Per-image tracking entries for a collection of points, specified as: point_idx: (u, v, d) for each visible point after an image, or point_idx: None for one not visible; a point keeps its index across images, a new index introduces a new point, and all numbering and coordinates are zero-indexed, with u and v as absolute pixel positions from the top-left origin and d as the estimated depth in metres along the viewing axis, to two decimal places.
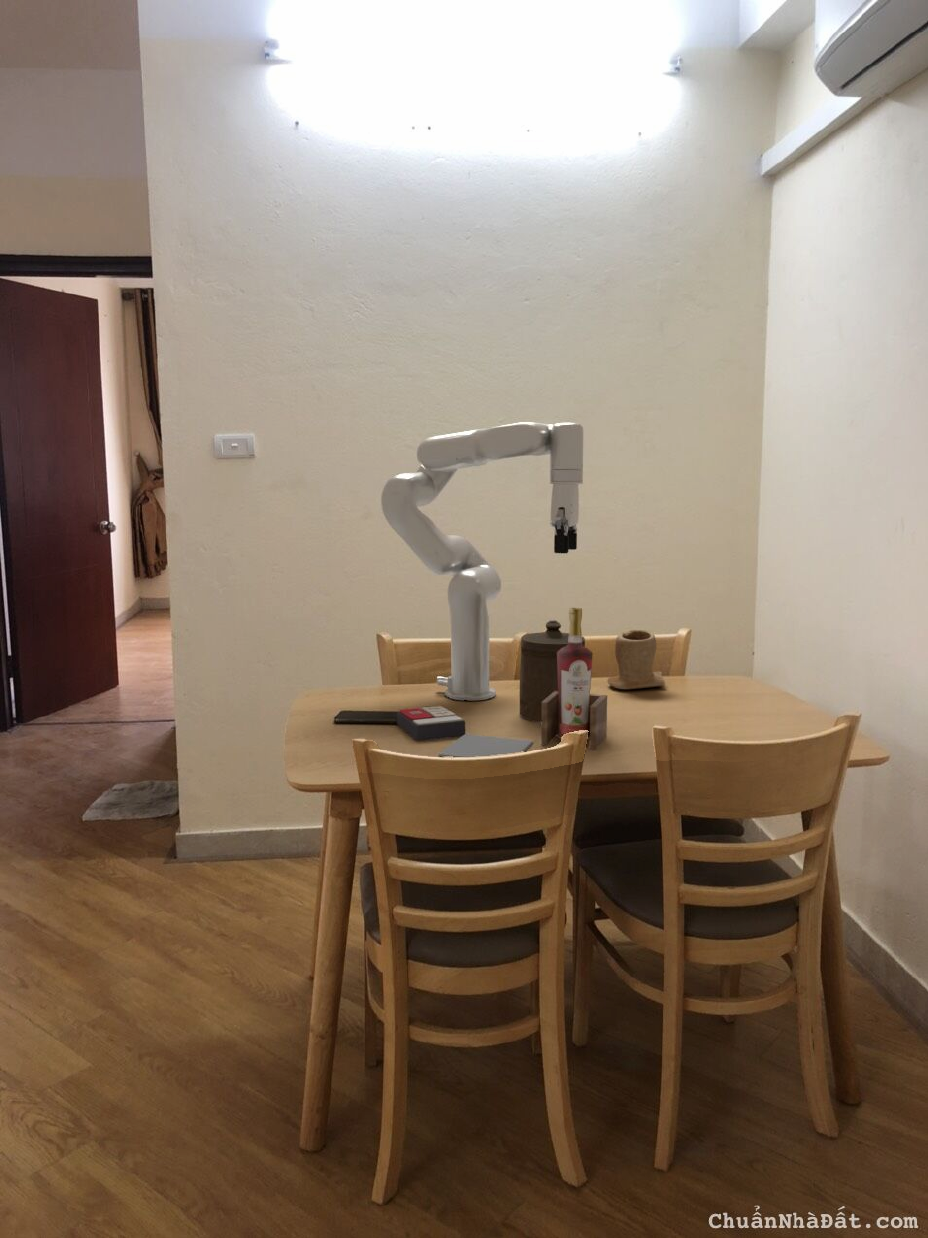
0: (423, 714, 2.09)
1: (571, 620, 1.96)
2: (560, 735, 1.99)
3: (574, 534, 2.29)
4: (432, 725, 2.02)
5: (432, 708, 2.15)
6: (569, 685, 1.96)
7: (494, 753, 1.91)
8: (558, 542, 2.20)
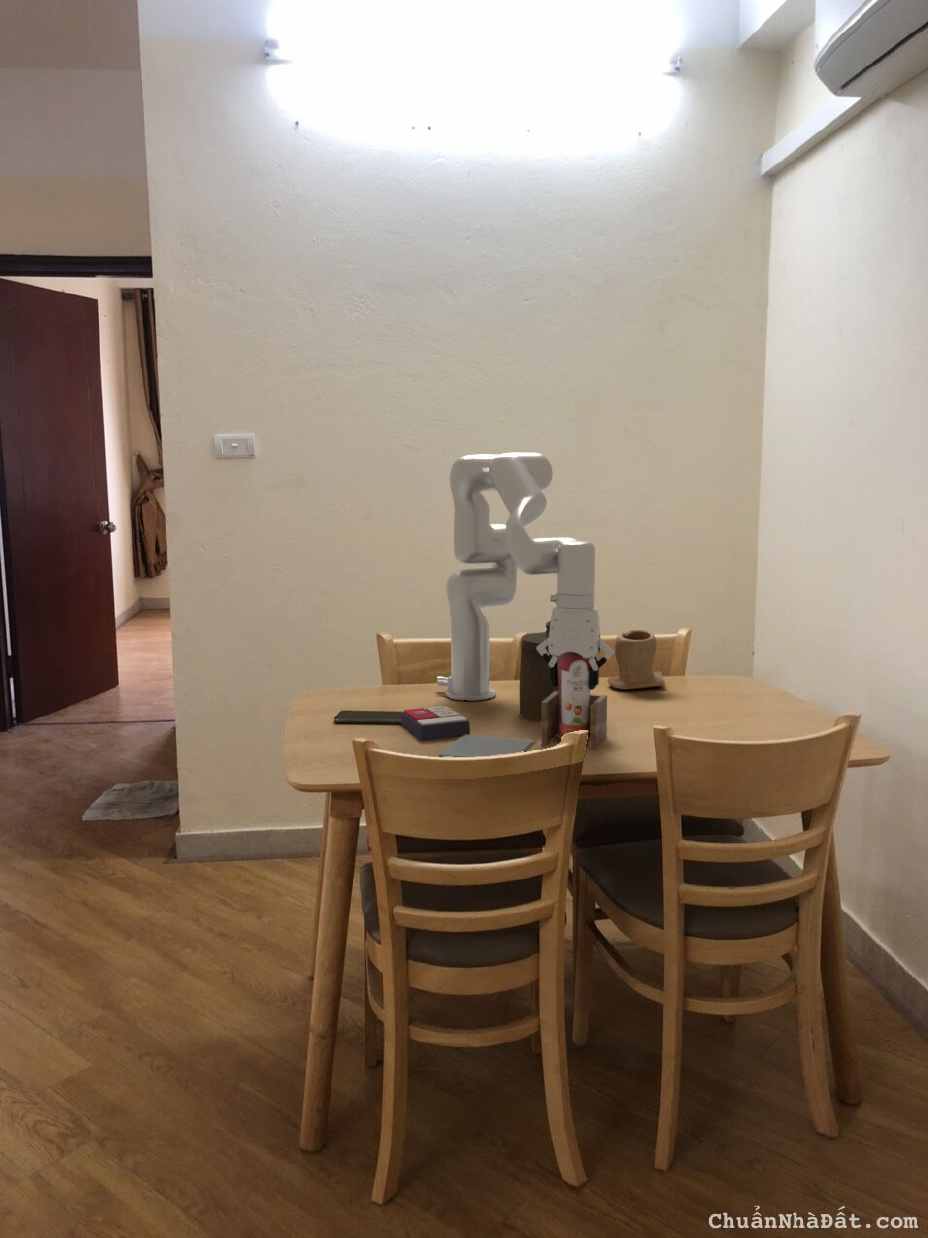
0: (427, 714, 2.09)
1: None
2: (560, 735, 1.99)
3: None
4: (436, 725, 2.02)
5: (436, 708, 2.15)
6: (569, 685, 1.96)
7: (494, 753, 1.91)
8: (597, 676, 1.96)
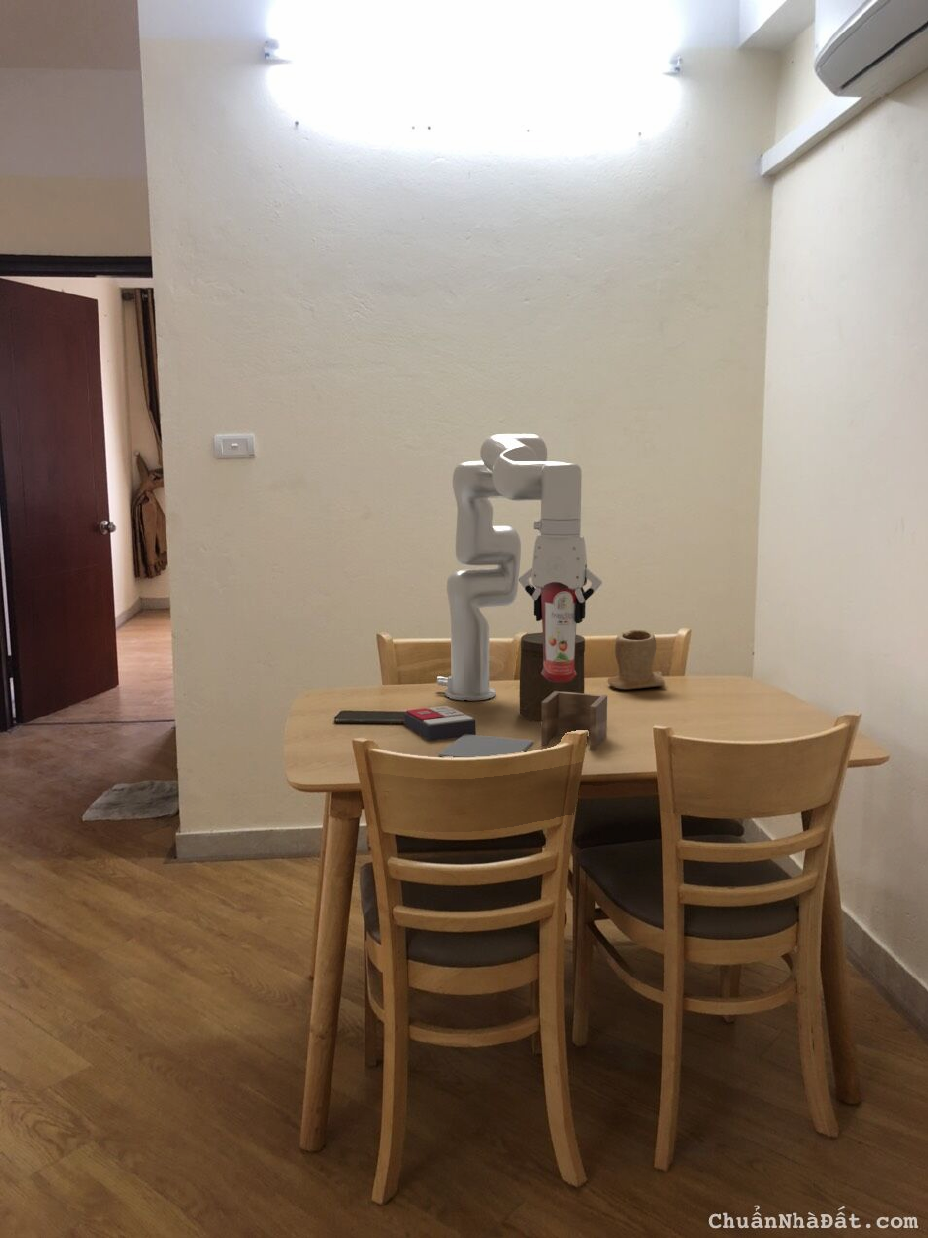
0: (432, 714, 2.09)
1: None
2: (544, 673, 1.86)
3: None
4: (443, 725, 2.02)
5: (439, 708, 2.15)
6: (553, 618, 1.82)
7: (494, 753, 1.91)
8: (583, 609, 1.83)
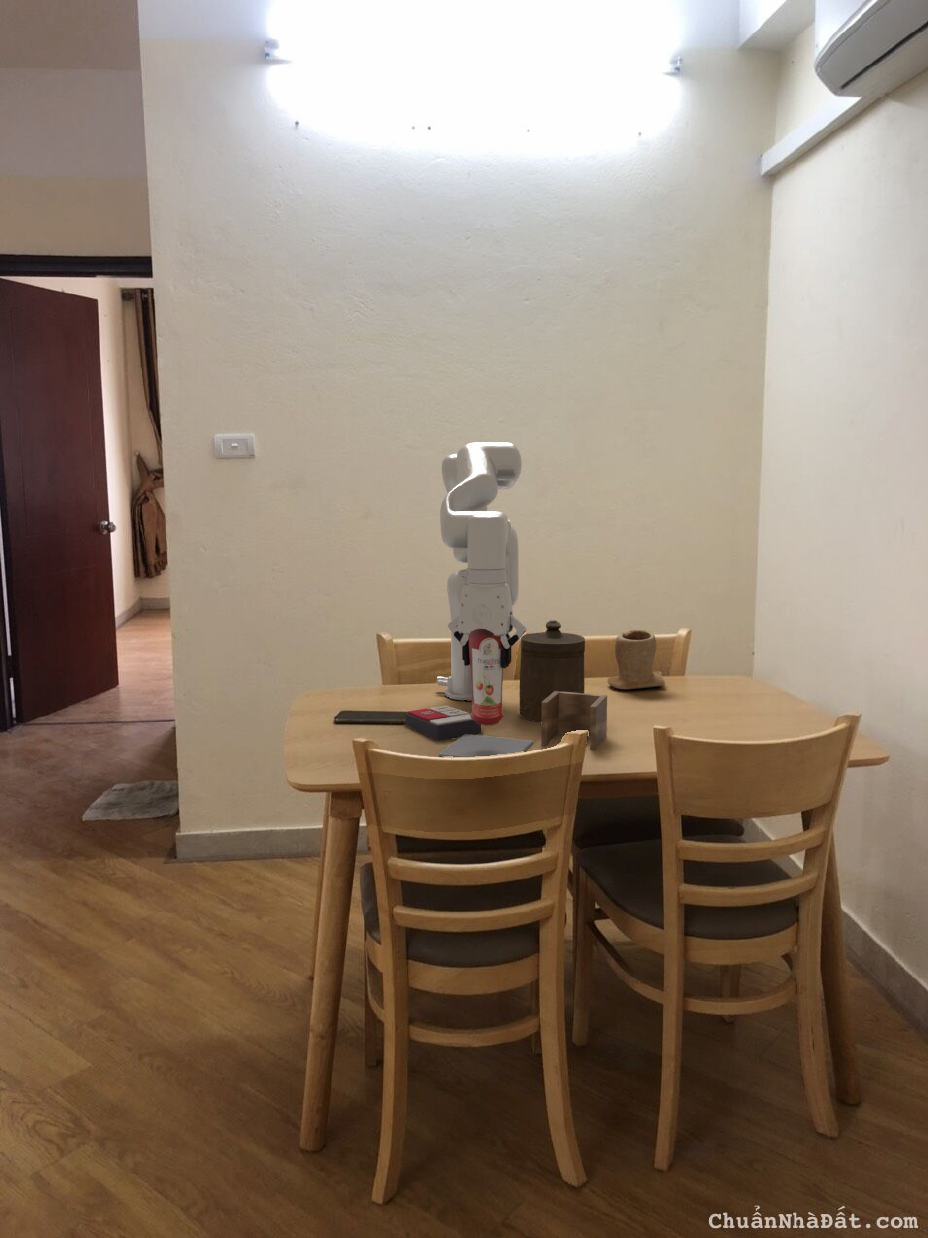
0: (436, 714, 2.09)
1: None
2: (472, 716, 1.92)
3: None
4: (451, 724, 2.03)
5: (440, 708, 2.15)
6: (480, 663, 1.89)
7: (494, 753, 1.91)
8: (509, 655, 1.90)
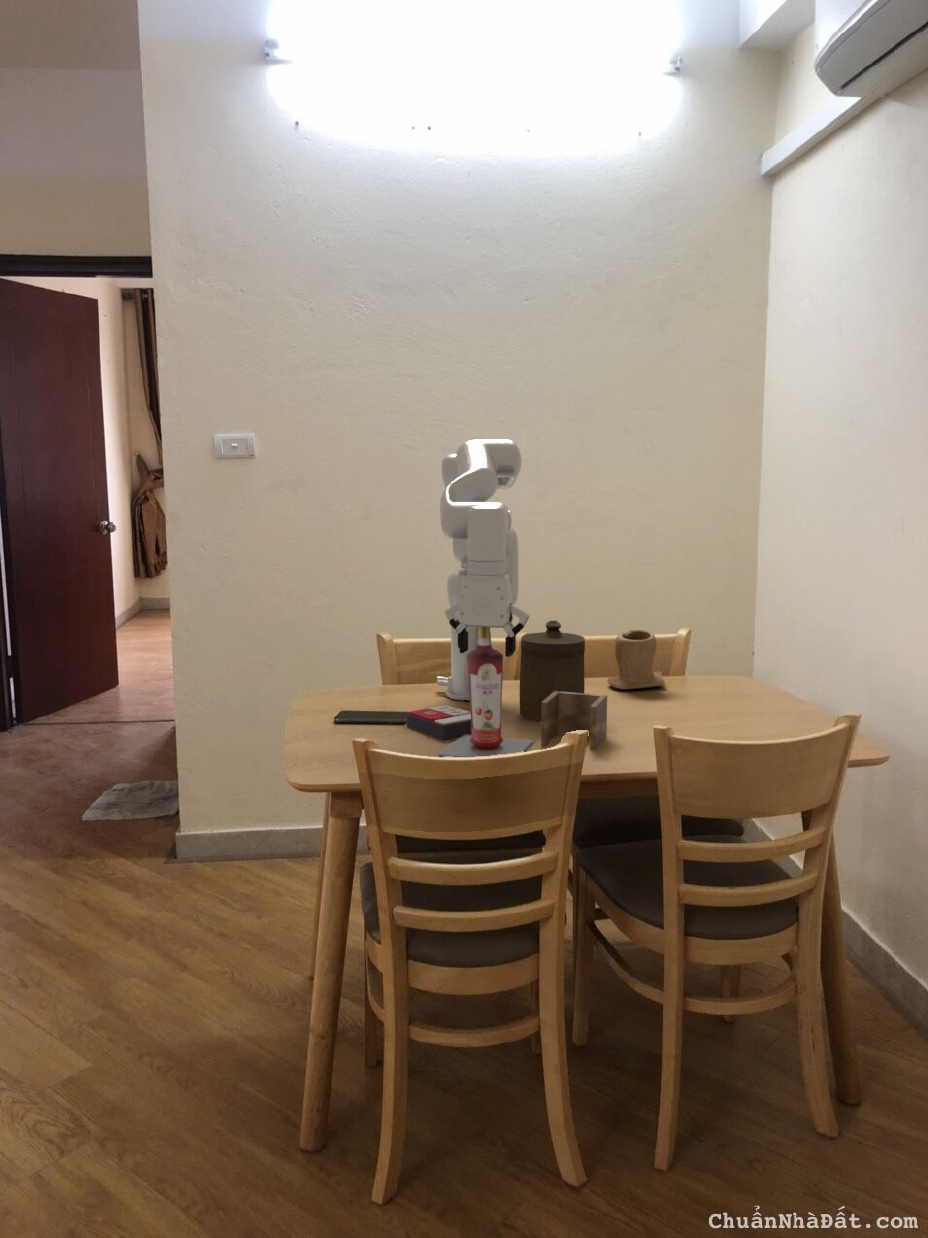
0: (439, 714, 2.09)
1: None
2: (472, 740, 1.94)
3: (467, 633, 1.94)
4: (456, 724, 2.03)
5: (441, 708, 2.15)
6: (478, 689, 1.90)
7: (494, 753, 1.91)
8: (513, 643, 1.89)
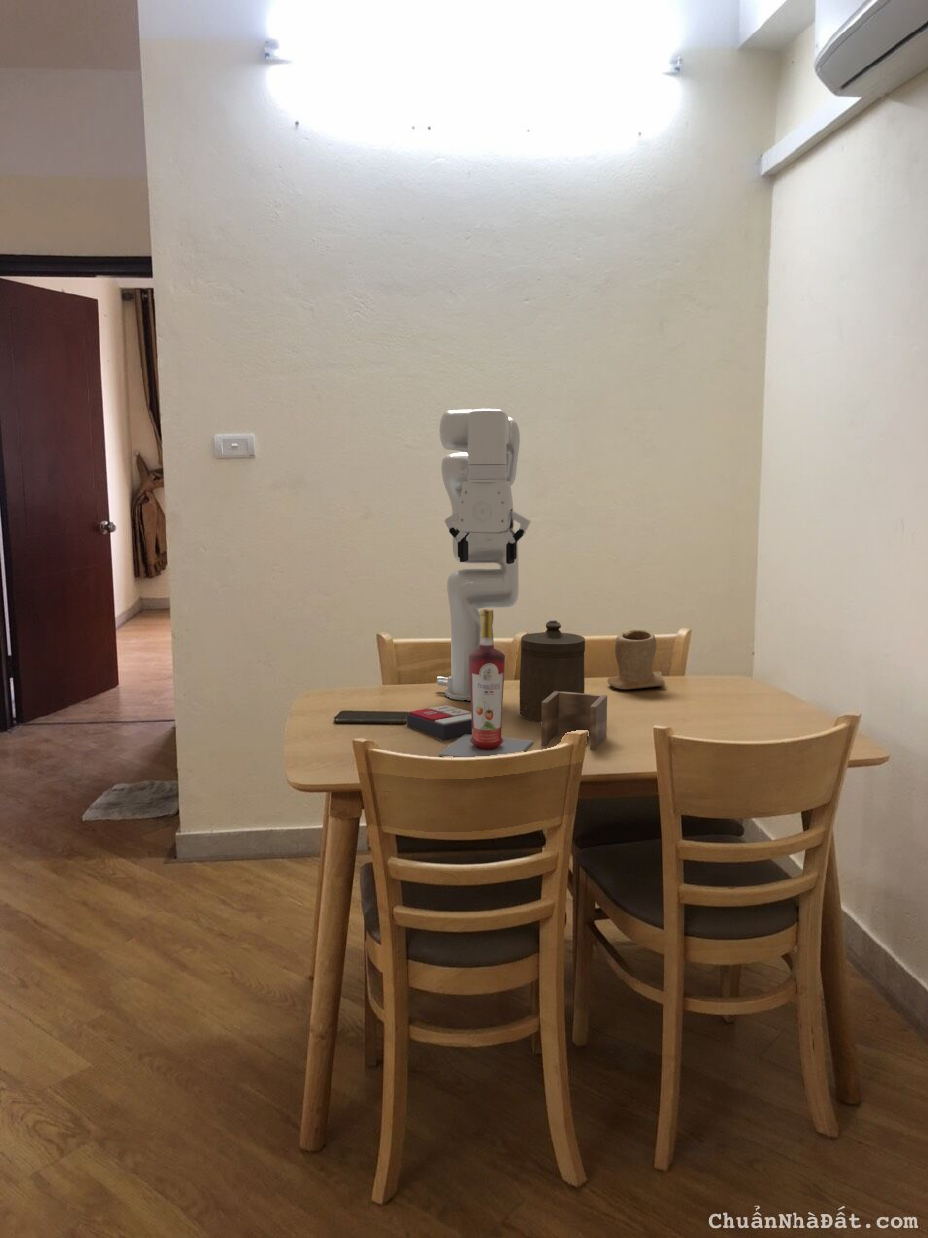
0: (439, 714, 2.09)
1: (482, 621, 1.90)
2: (472, 740, 1.94)
3: (467, 542, 1.91)
4: (457, 724, 2.03)
5: (441, 708, 2.15)
6: (480, 688, 1.90)
7: (494, 753, 1.91)
8: (514, 550, 1.86)
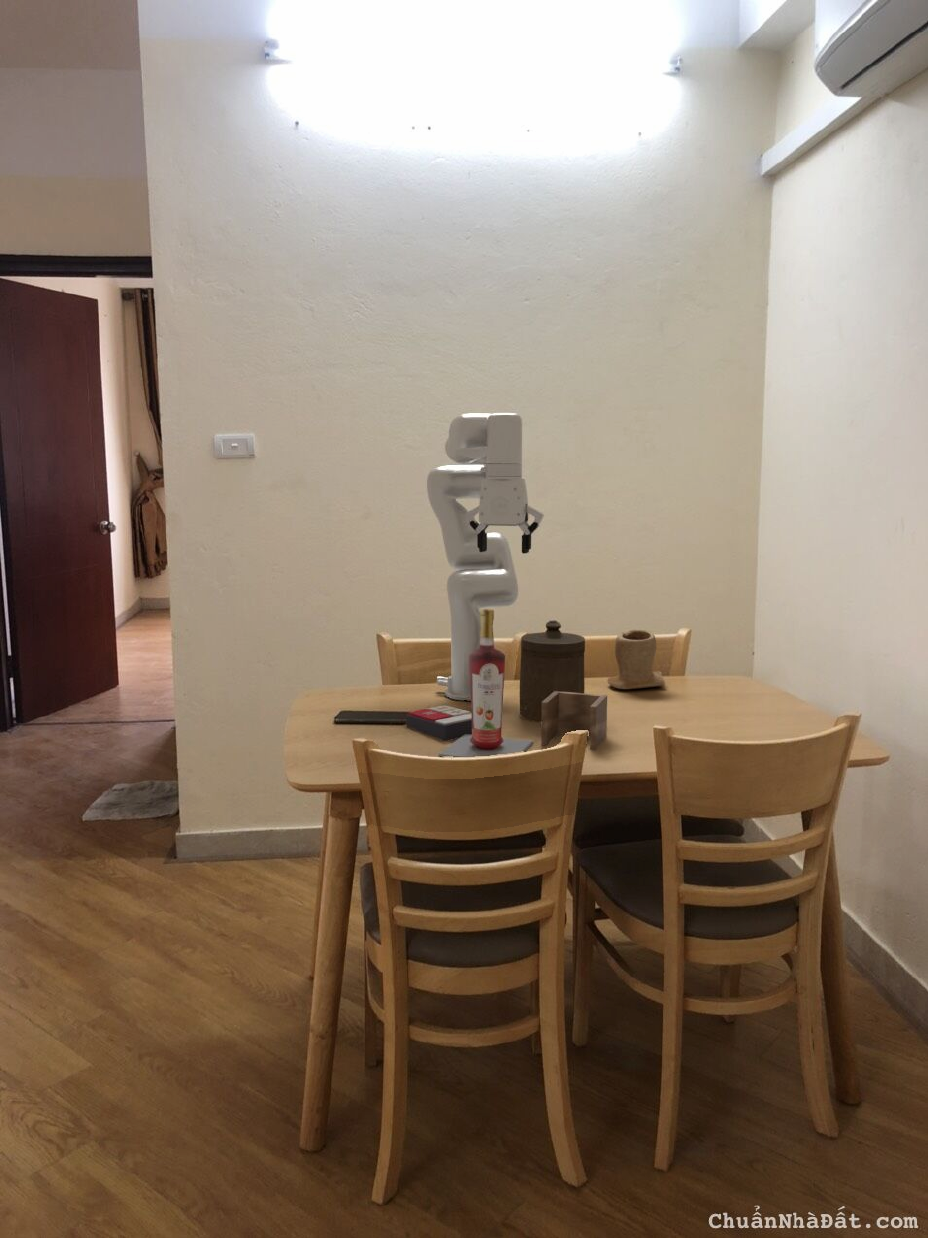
0: (439, 714, 2.09)
1: (482, 621, 1.90)
2: (472, 740, 1.94)
3: (486, 534, 2.10)
4: (457, 724, 2.03)
5: (440, 708, 2.15)
6: (480, 688, 1.90)
7: (494, 753, 1.91)
8: (529, 541, 2.05)
